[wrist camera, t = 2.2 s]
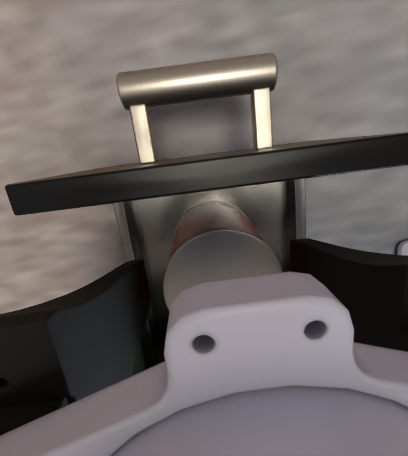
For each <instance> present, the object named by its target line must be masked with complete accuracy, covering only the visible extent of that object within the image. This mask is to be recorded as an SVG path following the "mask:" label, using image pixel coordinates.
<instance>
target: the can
mask: <svg viewBox="0 0 408 456" xmlns="http://www.w3.org/2000/svg"><path fill="white" fill-rule="evenodd" d="M276 273H283V269H282V266H281V263H280V261H279V259H278V257H277V256H276V254H275V252H274V251H273V250H272V249H271V248H270V246H269V245H268V244H267V243H266V242H265V241H264V240H263V239H262V238H261V236H260V235H259V234H258V232H257V231H256V230H255V228H254V227H253V226H252V224H251V222H250V221H249V219H248V218H247V217H246V215H245V214H244V213H243V212H242V211H241V210H239V209H238V208H237V207H235V206H233V205H231V204H228V203H225V202H219V201H211V202H205V203H201V204H198V205H196V206H194V207H193V208H191V209H190V210H188V211H187V212H186V213H185V214H184V215H183V216H182V218H181V219H180V221H179V222H178V224H177V226H176V229H175V233H174V240H173V244H172V248H171V252H170V257H169V261H168V263H167V265H166V268H165V272H164V276H163V287H162V288H163V296H164V300H165V303H166V305H167V308H168V309H169V311H170V307H171V304H172V303H173V302H174V300H175V299H176V298H177V297H178V296H179V294H180V293H181V292H182V291H183V290H185V289H188V288H190V287H193V286H196V285H198V284H201V283H206V282H214V281H222V280H229V279H237V278H245V277H253V276H260V275H268V274H276Z"/></svg>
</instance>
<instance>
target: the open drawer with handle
mask: <svg viewBox="0 0 408 456" xmlns="http://www.w3.org/2000/svg"><path fill="white" fill-rule="evenodd" d="M277 73H278V67H277V60H276V56H275V54H274V53H265V54H258V55H250V56H243V57H235V58H227V59H220V60H212V61H205V62H197V63H190V64H182V65H174V66H167V67H159V68H152V69H144V70H136V71H129V72H121V73H118V74H117V88H118V93H119V97H120V100H121V102H122V105H123V106H124V108H125V109H126V110H130V114H131V119H132V124H133V130H134V135H135V140H136V145H137V151H138V156H139V161H140V163H136V164H128V165H120V166H113V167H105V168H98V169H92V170H87V171H81V172H76V173H70V174H65V175H59V176H53V177H48V178H42V179H37V180H31V181H25V182H20V183H14V184H9V185H6V186H5V189H6V192H7V195H8V198H9V201H10V204H11V207H12V209H13V212H14V214H15V215H26V214H34V213H41V212H49V211H57V210H65V209H72V208H80V207H88V206H96V205H103V204H111V203H113V205H114V210H115V214H116V218H117V223H118V227H119V231H120V236H121V240H122V245H123V249H124V253H125V258H126V262H128V261H131V260H139V259H143V260H144V265H145V270H146V274H147V279H148V284H149V289H150V294H151V299H150V307H149V313H148V316H147V319H146V323H145V326H144V329H143V336H144V341H145V345H146V349H147V354H148V358H149V363H150V367H153V366H155V365H158V364H160V363H162V362H164V361H165V357H164V349H165V341H166V333H167V326H168V320H169V313H170V311H169V309H168V308H167V305H166V303H165V300H164V296H163V288H162V287H163V276H164V272H165V268H166V265H167V263H168V261H169V257H170V252H171V248H172V244H173V240H174V233H175V229H176V226H177V224H178V222H179V221H180V219H181V218H182V216H183V215H184V214H185V213H186V212H187V211H188V210H190V209H191V208H193V207H194V206H196V205H198V204H201V203H205V202H211V201H219V202H225V203H228V204H231V205H233V206H235V207H237V208H238V209H239V210H241V211H242V212H243V213H244V214H245V215H246V217H247V218H248V219H249V221H250V222H251V224H252V226H253V227H254V228H255V230H256V231H257V232H258V234H259V235H260V236H261V238H262V239H263V240H264V241H265V242H266V243H267V244H268V245H269V246H270V248H271V249H272V250H273V251H274V252H275V254H276V256H277V257H278V259H279V261H280V263H281V266H282V269H283V273H284V272H291V266H290V240H293V239H301V238H306V215H305V178H313V177H320V176H328V175H336V174H344V173H351V172H359V171H367V170H375V169H382V168H390V167H398V166H406V165H408V132H407V133H396V134H384V135H373V136H362V137H350V138H339V139H327V140H316V141H305V142H298V143H290V144H282V145H274V146H273V144H272V122H271V100H270V92H271V91H273V90H274V89H275V86H276V82H277ZM248 94H250V97H251V112H252V127H253V142H254V148H251V149H244V150H236V151H228V152H221V153H213V154H205V155H197V156H190V157H182V158H174V159H167V160H159V161H157V156H156V150H155V144H154V138H153V132H152V126H151V121H150V115H149V109H148V108H149V107H156V106H164V105H172V104H179V103H187V102H195V101H202V100H210V99H218V98H225V97H233V96H240V95H248Z"/></svg>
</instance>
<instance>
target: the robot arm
mask: <svg viewBox="0 0 408 456" xmlns="http://www.w3.org/2000/svg"><path fill="white" fill-rule="evenodd" d="M290 266H291V272H284V273H276V274H268V275H260V276H253V277H245V278H237V279H229V280H222V281H214V282H206V283H201V284H198V285H196V286H193V287H190V288H188V289H185V290H183V291H182V292H181V293H180V294H179V296H178V297H177V298H176V299H175V300H174V302H173V303H172V304H171V307H170V313H169V320H168V326H167V333H166V341H165V349H164V357H165V361H164V362H162V363H160V364H158V365H155V366H153V367H151V368H149V369H147V370H144V371H142V372H140V373H138V374H136V375H133V376H131V374H132V369H133V364H134V359H135V355H136V351H137V348H138V345H139V342H140V339H141V335H142V332H143V329H144V326H145V323H146V319H147V316H148V313H149V307H150V299H151V294H150V289H149V284H148V279H147V274H146V270H145V265H144V260H143V259H139V260H131V261H128V262H126V263H124V264H122V265H121V266H119V267H117V268H116V269H114V270H112V271H111V272H109V273H107V274H106V275H104V276H102V277H101V278H99V279H97V280H95V281H94V282H92V283H90V284H88V285H86V286H84V287H82V288H80V289H78V290H76V291H73V292H71V293H69V294H67V295H64V296H61V297H58V298H56V299H53V300H50V301H48V302H45V303H42V304H38V305H35V306H32V307H28V308H25V309H21V310H17V311H13V312H9V313H4V314H0V456H408V240H407V241H403V242H401V243H400V244H399V246H398V250H397V255H391V254H381V253H373V252H366V251H360V250H355V249H350V248H345V247H341V246H336V245H332V244H328V243H324V242H320V241H316V240H312V239H306V238H301V239H293V240H290Z"/></svg>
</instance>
